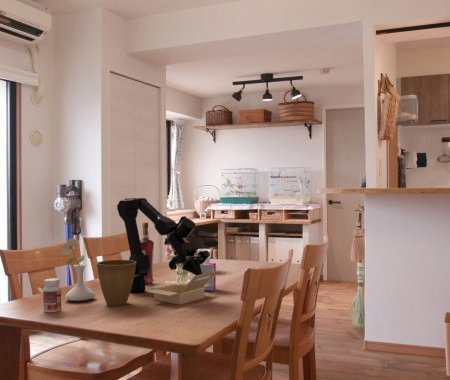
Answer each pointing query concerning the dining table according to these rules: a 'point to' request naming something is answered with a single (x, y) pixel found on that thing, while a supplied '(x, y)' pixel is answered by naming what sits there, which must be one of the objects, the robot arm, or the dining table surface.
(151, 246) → the liquor
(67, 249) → the flower in vase
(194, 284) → the flap
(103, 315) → the dining table surface
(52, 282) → the pill bottle
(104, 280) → the plant pot
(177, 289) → the carton
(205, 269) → the supplement box
